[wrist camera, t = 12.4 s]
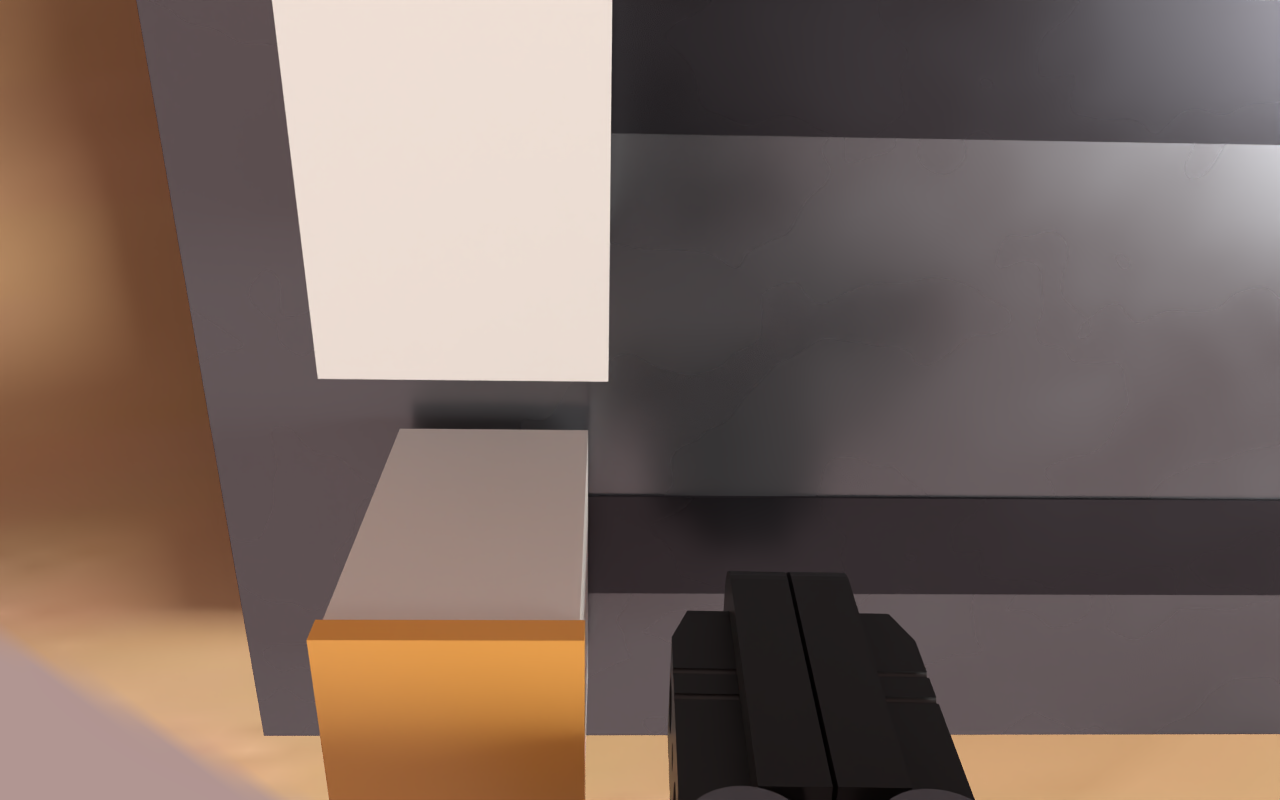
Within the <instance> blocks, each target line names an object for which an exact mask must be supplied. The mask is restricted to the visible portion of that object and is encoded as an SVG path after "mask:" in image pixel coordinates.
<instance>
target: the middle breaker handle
mask: <svg viewBox="0 0 1280 800" xmlns="http://www.w3.org/2000/svg"><path fill="white" fill-rule="evenodd" d="M272 5H273V13H274V22H275V30H276V38H277V46H278V55H279V63H280V71H281V79H282V88H283V96H284V104H285V112H286V121H287V129H288V137H289V145H290V154H291V162H292V170H293V178H294V187H295V195H296V203H297V211H298V219H299V228H300V236H301V244H302V252H303V261H304V269H305V277H306V285H307V294H308V302H309V310H310V318H311V327H312V335H313V343H314V351H315V360H316V368H317V376H318V379H384V380H488V381H591V382H608V365H609V268H610V170H611V72H612V0H272Z"/></svg>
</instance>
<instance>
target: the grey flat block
mask: <svg viewBox="0 0 1280 800" xmlns="http://www.w3.org/2000/svg"><path fill="white" fill-rule="evenodd" d="M136 1H137V7H138V13H139V18H140V24H141V30H142V36H143V41H144V47H145V53H146V59H147V64H148V70H149V76H150V82H151V87H152V93H153V99H154V105H155V110H156V116H157V122H158V128H159V133H160V139H161V145H162V151H163V156H164V162H165V168H166V174H167V180H168V185H169V191H170V197H171V203H172V208H173V214H174V220H175V226H176V231H177V237H178V243H179V249H180V254H181V260H182V266H183V272H184V277H185V283H186V289H187V295H188V300H189V306H190V312H191V318H192V323H193V329H194V335H195V341H196V346H197V352H198V358H199V364H200V369H201V375H202V381H203V387H204V392H205V398H206V404H207V410H208V416H209V421H210V427H211V433H212V439H213V444H214V450H215V456H216V462H217V467H218V473H219V479H220V485H221V490H222V496H223V502H224V508H225V513H226V519H227V525H228V531H229V536H230V542H231V548H232V554H233V559H234V565H235V571H236V577H237V582H238V588H239V594H240V600H241V606H242V611H243V617H244V623H245V629H246V634H247V640H248V646H249V652H250V657H251V663H252V669H253V675H254V680H255V686H256V692H257V698H258V703H259V709H260V715H261V721H262V726H263V732H264V736H320V731H319V724H318V717H317V710H316V703H315V696H314V689H313V682H312V675H311V668H310V661H309V654H308V647H307V638H308V635H309V633H310V631H311V628H312V626H313V623H314V621H315V620H323V618H324V616H325V613H326V611H327V608H328V606H329V603H330V601H331V598H332V596H333V593H334V591H335V588H336V586H337V583H338V581H339V578H340V576H341V573H342V571H343V568H344V566H345V563H346V561H347V559H348V556H349V554H350V551H351V549H352V546H353V544H354V541H355V539H356V536H357V534H358V531H359V529H360V526H361V524H362V521H363V519H364V516H365V514H366V511H367V509H368V506H369V504H370V501H371V499H372V497H373V494H374V492H375V489H376V487H377V484H378V482H379V479H380V477H381V474H382V472H383V469H384V467H385V464H386V462H387V459H388V457H389V454H390V452H391V449H392V447H393V444H394V442H395V439H396V437H397V435H398V432H399V430H400V429H506V430H588V684H587V718H586V735H668V710H669V686H670V663H671V640H672V636H673V634H674V632H675V630H676V629H677V627H678V625H679V624H680V622H681V620H682V619H683V617H684V615H685V613H686V612H687V611H723V610H724V595H725V582H726V575H727V572H728V571H755V572H785V573H787V572H826V573H845V574H846V575H847V577H848V579H849V582H850V585H851V589H852V592H853V595H854V598H855V602H856V605H857V608H858V611H859V613H874V614H889V615H890V616H891V617H892V618H893V619H894V620H895V621H896V622H897V623H898V624H899V625H900V626H901V627H902V628H903V629H904V630H905V631H906V632H907V633H908V634H909V635H910V636H911V637H912V638H913V639H914V640H915V641H916V644H917V647H918V649H919V652H920V655H921V657H922V660H923V663H924V665H925V668H926V671H927V678H929V679H930V682H931V684H932V687H933V690H934V692H935V695H936V703H937V704H939V706H940V708H941V711H942V714H943V716H944V719H945V722H946V724H947V727H948V730H949V732H950V735H986V734H1280V0H612V72H611V170H610V268H609V365H608V382H591V381H488V380H384V379H318V376H317V368H316V360H315V351H314V343H313V335H312V327H311V318H310V310H309V302H308V294H307V285H306V277H305V269H304V261H303V252H302V244H301V236H300V228H299V219H298V211H297V203H296V195H295V187H294V178H293V170H292V162H291V154H290V145H289V137H288V129H287V121H286V112H285V104H284V96H283V88H282V79H281V71H280V63H279V55H278V46H277V38H276V30H275V22H274V13H273V5H272V0H136Z"/></svg>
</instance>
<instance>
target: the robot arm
mask: <svg viewBox="0 0 1280 800" xmlns="http://www.w3.org/2000/svg"><path fill="white" fill-rule="evenodd" d="M668 757H669V787H670V800H975V799H974V797H973V794H972V791H971V789H970V786H969V783H968V781H967V778H966V775H965V773H964V770H963V767H962V765H961V762H960V759H959V757H958V754H957V751H956V749H955V746H954V743H953V740H952V738H951V735H950V732H949V730H948V727H947V724H946V722H945V719H944V716H943V714H942V711H941V708H940V706H939V704H937V703H936V695H935V692H934V690H933V687H932V684H931V682H930V679H929V678H927V671H926V668H925V665H924V663H923V660H922V657H921V655H920V652H919V649H918V647H917V644H916V641H915V640H914V639H913V638H912V637H911V636H910V635H909V634H908V633H907V632H906V631H905V630H904V629H903V628H902V627H901V626H900V625H899V624H898V623H897V622H896V621H895V620H894V619H893V618H892V617H891V616H890V615H889V614H874V613H859V611H858V608H857V605H856V602H855V598H854V595H853V592H852V589H851V585H850V582H849V579H848V577H847V575H846V574H845V573H826V572H787V573H785V572H755V571H728V572H727V575H726V582H725V595H724V610H723V611H687V612H686V613H685V615H684V617H683V619H682V620H681V622H680V624H679V625H678V627H677V629H676V630H675V632H674V634H673V636H672V640H671V663H670V686H669V710H668Z"/></svg>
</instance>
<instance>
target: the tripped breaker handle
mask: <svg viewBox="0 0 1280 800" xmlns="http://www.w3.org/2000/svg"><path fill="white" fill-rule="evenodd" d="M307 647H308V654H309V661H310V668H311V675H312V682H313V689H314V696H315V703H316V710H317V717H318V724H319V731H320V738H321V745H322V752H323V759H324V766H325V773H326V780H327V787H328V794H329V800H585V752H586V718H587V684H588V430H506V429H400V430H399V432H398V435H397V437H396V439H395V442H394V444H393V447H392V449H391V452H390V454H389V457H388V459H387V462H386V464H385V467H384V469H383V472H382V474H381V477H380V479H379V482H378V484H377V487H376V489H375V492H374V494H373V497H372V499H371V501H370V504H369V506H368V509H367V511H366V514H365V516H364V519H363V521H362V524H361V526H360V529H359V531H358V534H357V536H356V539H355V541H354V544H353V546H352V549H351V551H350V554H349V556H348V559H347V561H346V563H345V566H344V568H343V571H342V573H341V576H340V578H339V581H338V583H337V586H336V588H335V591H334V593H333V596H332V598H331V601H330V603H329V606H328V608H327V611H326V613H325V616H324V618H323V620H315V621H314V623H313V626H312V628H311V631H310V633H309V635H308V638H307Z"/></svg>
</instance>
